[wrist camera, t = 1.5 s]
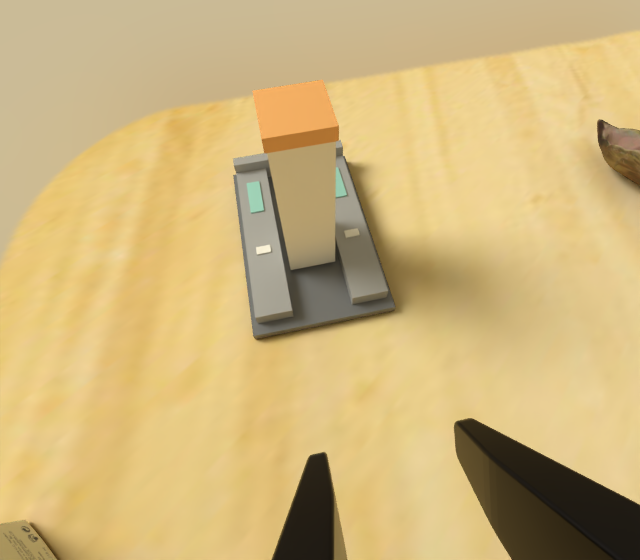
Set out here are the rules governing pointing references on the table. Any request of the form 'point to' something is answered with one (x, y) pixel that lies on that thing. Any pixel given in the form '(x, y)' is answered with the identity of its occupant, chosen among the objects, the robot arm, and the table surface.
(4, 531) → the skincare box
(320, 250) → the fader knob
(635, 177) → the ceramic sculpture
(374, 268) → the console
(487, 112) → the table surface
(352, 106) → the table surface
